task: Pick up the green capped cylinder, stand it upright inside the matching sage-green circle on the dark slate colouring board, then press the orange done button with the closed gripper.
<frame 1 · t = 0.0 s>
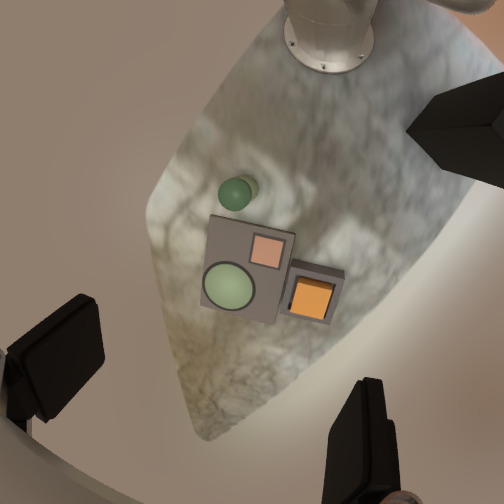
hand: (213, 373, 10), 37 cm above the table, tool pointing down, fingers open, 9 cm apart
colouring board: (244, 271, 50), on the table
tissue box: (438, 132, 36), on the table
done button: (311, 297, 45), point 3 cm above the table, slide at 0.0 cm
button housing: (312, 288, 48), on the table
green capped cylinder: (245, 188, 45), on the table
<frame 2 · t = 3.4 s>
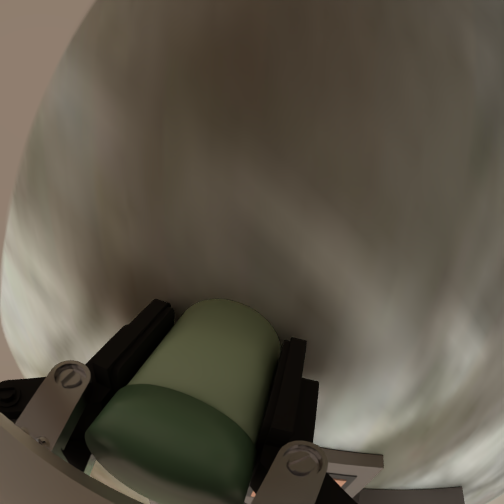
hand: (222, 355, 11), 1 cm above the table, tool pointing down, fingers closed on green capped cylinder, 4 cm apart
colouring board: (235, 492, 16), on the table
green capped cylinder: (227, 346, 11), on the table, touching gripper
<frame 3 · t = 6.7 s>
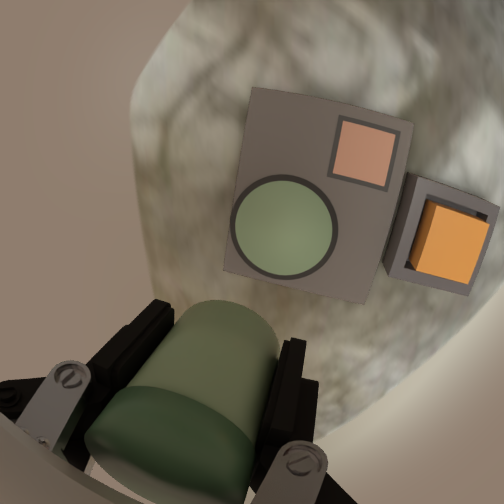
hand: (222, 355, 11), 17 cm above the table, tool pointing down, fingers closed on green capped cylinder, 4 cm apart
colouring board: (315, 197, 25), on the table
done button: (449, 242, 20), point 3 cm above the table, slide at 0.0 cm
button housing: (436, 230, 23), on the table
green capped cylinder: (226, 347, 11), point 16 cm above the table, touching gripper
when the fingers open (3 cm above the table, at t = 10.2 s): green capped cylinder drops 1 cm, resting on colouring board.
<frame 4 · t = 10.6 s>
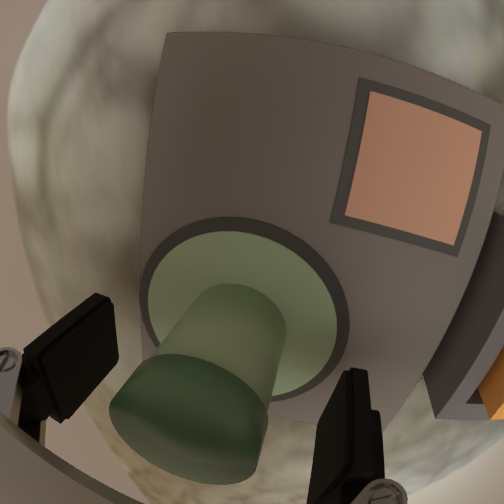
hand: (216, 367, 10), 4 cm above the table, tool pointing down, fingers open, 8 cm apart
colouring board: (304, 263, 12), on the table
green capped cylinder: (236, 328, 12), point 1 cm above the table, touching colouring board
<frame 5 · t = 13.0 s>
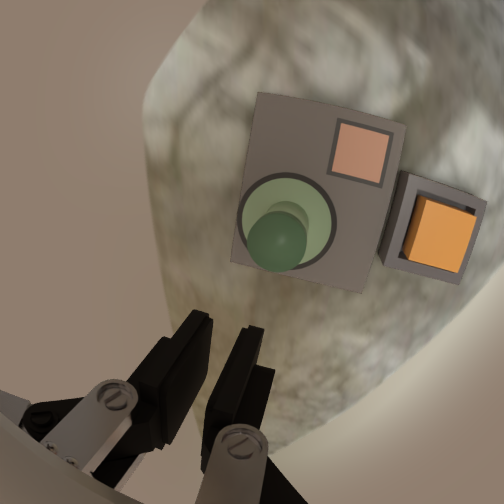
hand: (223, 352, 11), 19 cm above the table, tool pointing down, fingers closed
colouring board: (315, 193, 27), on the table
done button: (439, 233, 22), point 3 cm above the table, slide at 0.0 cm
button housing: (428, 223, 25), on the table
green capped cylinder: (286, 223, 27), point 1 cm above the table, touching colouring board
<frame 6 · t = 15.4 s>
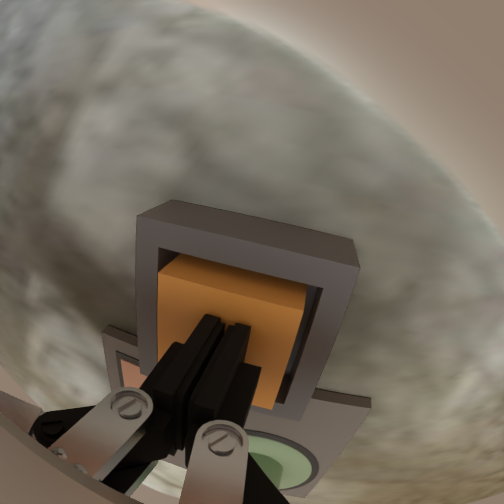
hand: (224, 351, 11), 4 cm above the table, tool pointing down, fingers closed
colouring board: (220, 431, 19), on the table
done button: (228, 332, 12), point 3 cm above the table, slide at 0.5 cm, touching gripper
button housing: (244, 299, 14), on the table
green capped cylinder: (254, 466, 18), point 1 cm above the table, touching colouring board
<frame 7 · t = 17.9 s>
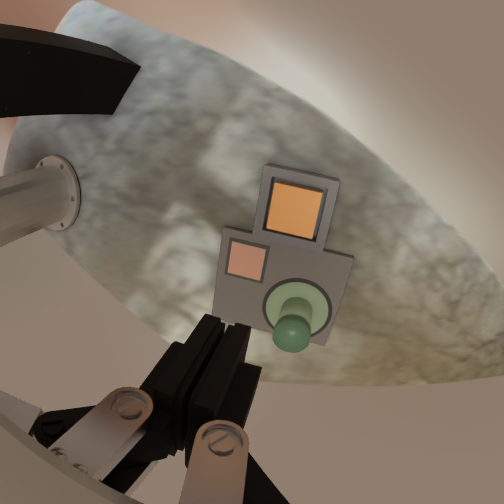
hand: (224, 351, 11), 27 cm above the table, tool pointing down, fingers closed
colouring board: (278, 288, 39), on the table
tissue box: (110, 79, 35), on the table
done button: (294, 208, 33), point 2 cm above the table, slide at 0.8 cm
button housing: (296, 204, 35), on the table
green capped cylinder: (296, 310, 39), point 1 cm above the table, touching colouring board
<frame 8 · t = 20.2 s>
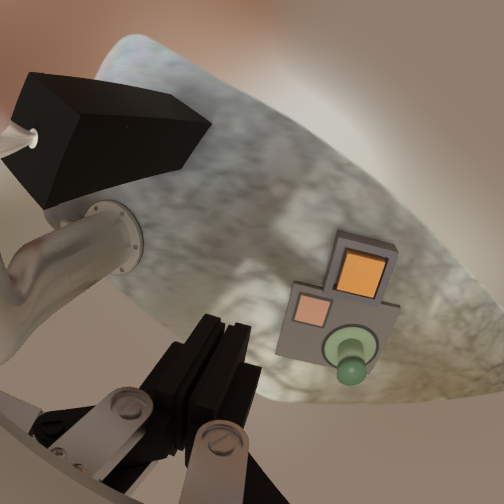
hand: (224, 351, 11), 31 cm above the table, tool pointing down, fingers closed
colouring board: (335, 330, 45), on the table
tissue box: (176, 131, 40), on the table
done button: (360, 272, 38), point 2 cm above the table, slide at 0.8 cm
button housing: (358, 265, 40), on the table
green capped cylinder: (350, 348, 44), point 1 cm above the table, touching colouring board
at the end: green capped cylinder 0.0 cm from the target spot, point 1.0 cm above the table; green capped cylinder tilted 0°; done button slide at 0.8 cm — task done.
